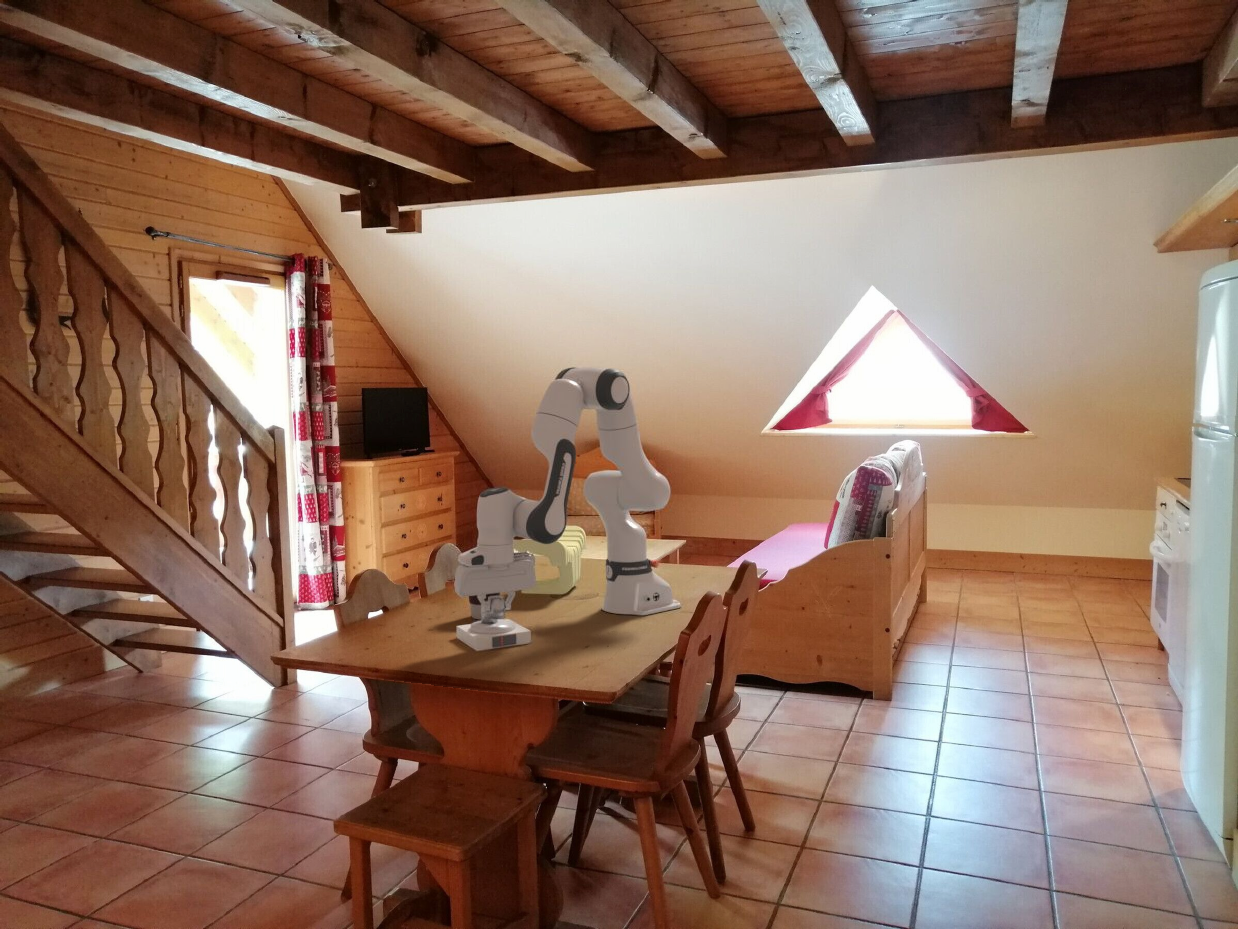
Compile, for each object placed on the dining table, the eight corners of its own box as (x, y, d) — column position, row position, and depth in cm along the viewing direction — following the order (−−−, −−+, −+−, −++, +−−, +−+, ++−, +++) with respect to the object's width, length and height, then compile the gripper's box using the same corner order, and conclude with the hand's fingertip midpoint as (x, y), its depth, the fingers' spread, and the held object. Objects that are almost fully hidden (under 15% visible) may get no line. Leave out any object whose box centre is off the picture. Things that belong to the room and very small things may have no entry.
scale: (508, 630, 244) (508, 615, 243) (531, 643, 231) (531, 627, 231) (456, 637, 237) (456, 622, 236) (477, 651, 224) (477, 635, 224)
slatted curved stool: (566, 600, 277) (565, 540, 276) (513, 599, 280) (512, 539, 279) (586, 580, 307) (586, 525, 305) (538, 579, 310) (538, 525, 308)
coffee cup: (468, 622, 252) (467, 567, 251) (464, 614, 262) (463, 560, 261) (505, 619, 255) (504, 564, 254) (500, 611, 264) (499, 558, 263)
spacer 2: (501, 614, 234) (501, 594, 234) (507, 618, 230) (507, 597, 230) (486, 616, 232) (485, 596, 232) (492, 620, 228) (491, 599, 228)
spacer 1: (494, 619, 239) (494, 600, 238) (499, 623, 235) (499, 603, 235) (479, 621, 237) (478, 601, 236) (484, 625, 233) (484, 605, 233)
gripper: (529, 549, 238) (530, 603, 239) (451, 556, 228) (452, 612, 229) (540, 552, 232) (540, 608, 233) (460, 560, 222) (461, 618, 223)
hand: (496, 610), depth 231 cm, fingers closed on spacer 2, 4 cm apart
